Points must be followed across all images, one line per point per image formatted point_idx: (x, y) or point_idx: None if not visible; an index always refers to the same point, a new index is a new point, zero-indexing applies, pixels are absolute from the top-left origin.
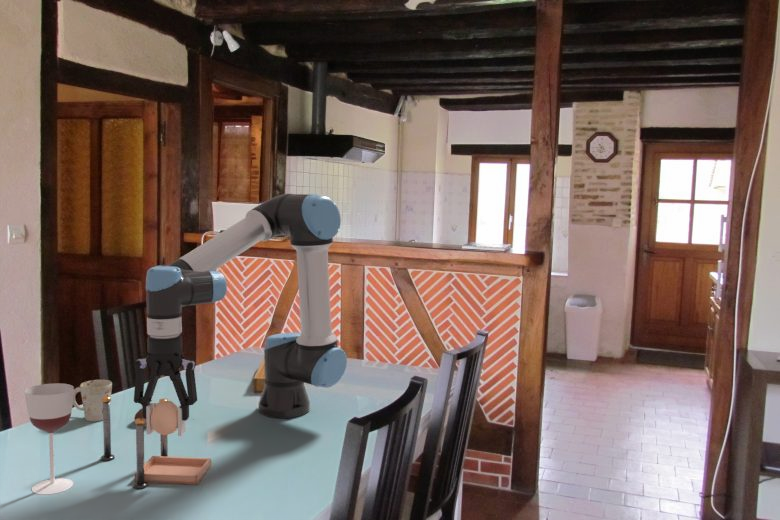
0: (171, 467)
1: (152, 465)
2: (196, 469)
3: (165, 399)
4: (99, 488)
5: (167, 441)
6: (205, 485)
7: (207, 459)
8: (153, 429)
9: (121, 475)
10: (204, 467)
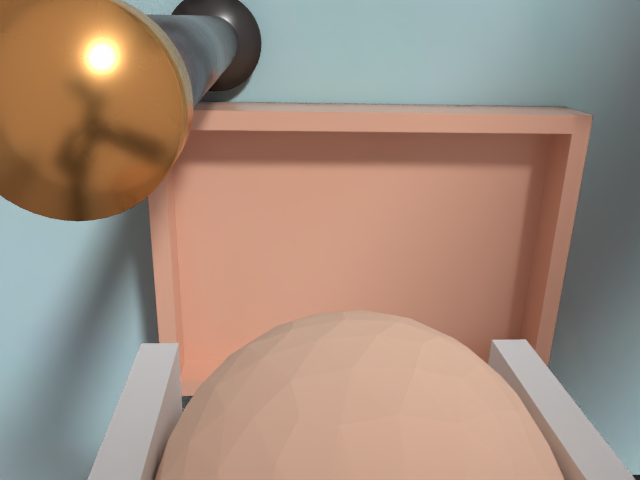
0: (322, 192)
1: (180, 172)
2: (491, 203)
3: (102, 71)
4: (19, 452)
5: (229, 41)
6: (567, 357)
7: (569, 134)
8: (177, 379)
9: (41, 293)
10: (565, 259)
